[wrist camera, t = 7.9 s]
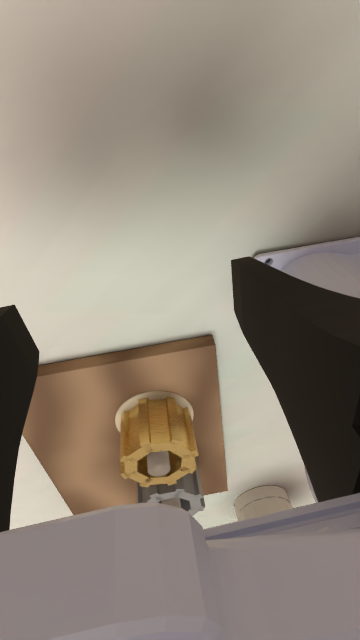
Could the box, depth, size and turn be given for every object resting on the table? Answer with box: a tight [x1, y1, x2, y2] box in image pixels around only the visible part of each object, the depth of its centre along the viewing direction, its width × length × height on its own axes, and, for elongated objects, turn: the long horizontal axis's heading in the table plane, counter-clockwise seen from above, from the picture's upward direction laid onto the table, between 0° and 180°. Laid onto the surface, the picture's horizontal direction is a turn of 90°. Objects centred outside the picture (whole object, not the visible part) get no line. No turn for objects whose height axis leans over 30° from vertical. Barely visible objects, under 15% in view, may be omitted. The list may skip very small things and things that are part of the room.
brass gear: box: [120, 396, 199, 487], centre depth 26 cm, size 6×6×4 cm
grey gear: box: [136, 457, 205, 516], centre depth 30 cm, size 6×6×4 cm
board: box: [22, 335, 228, 515], centre depth 28 cm, size 16×20×6 cm
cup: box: [234, 486, 293, 521], centre depth 35 cm, size 8×8×12 cm
